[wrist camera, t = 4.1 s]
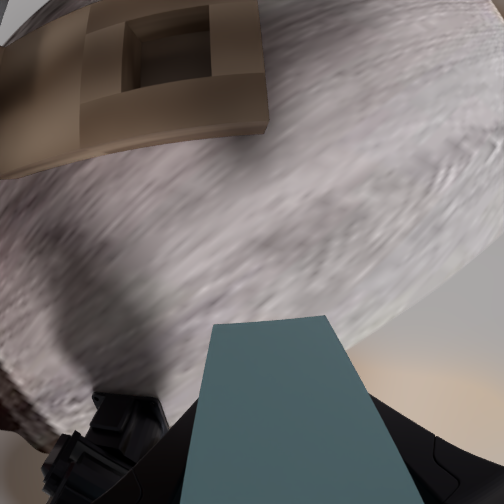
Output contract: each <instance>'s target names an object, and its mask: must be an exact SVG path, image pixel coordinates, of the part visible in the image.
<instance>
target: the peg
mask: <svg viewBox="0 0 504 504" xmlns="http://www.w3.org/2000/svg"><path fill="white" fill-rule="evenodd" d="M180 504H424V502H423V500H422V498H421V496H420V494H419V492H418V490H417V488H416V486H415V484H414V481H413V479H412V477H411V475H410V473H409V471H408V469H407V467H406V465H405V463H404V461H403V459H402V457H401V455H400V453H399V451H398V449H397V447H396V445H395V443H394V441H393V439H392V437H391V436H390V434H389V432H388V430H387V428H386V426H385V424H384V422H383V420H382V418H381V416H380V414H379V412H378V411H377V409H376V407H375V405H374V403H373V401H372V399H371V397H370V396H369V394H368V392H367V390H366V388H365V386H364V384H363V383H362V381H361V379H360V377H359V375H358V373H357V371H356V370H355V368H354V366H353V365H352V363H351V361H350V359H349V357H348V355H347V353H346V352H345V350H344V348H343V346H342V344H341V343H340V341H339V339H338V337H337V335H336V334H335V332H334V330H333V328H332V327H331V325H330V323H329V321H328V319H327V318H326V316H325V315H323V316H315V317H305V318H295V319H285V320H274V321H261V322H248V323H233V324H215V325H213V329H212V334H211V339H210V344H209V349H208V354H207V359H206V364H205V369H204V374H203V379H202V384H201V389H200V394H199V399H198V404H197V410H196V415H195V420H194V426H193V431H192V436H191V442H190V448H189V453H188V459H187V464H186V470H185V476H184V482H183V488H182V494H181V500H180Z"/></svg>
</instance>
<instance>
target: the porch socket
mask: <svg viewBox="0 0 504 504" xmlns="http://www.w3.org/2000/svg"><path fill="white" fill-rule="evenodd" d="M8 1H9V0H0V25H1V22H2V18H3V15H4V12H5V9H6V7H7V4H8ZM268 123H269V110H268V99H267V88H266V77H265V67H264V57H263V47H262V37H261V28H260V19H259V10H258V2H257V0H101V1H98V2H96V3H93V4H90V5H88V6H85V7H83V8H80V9H78V10H75V11H73V12H71V13H68V14H66V15H64V16H62V17H60V18H57V19H55V20H53V21H51V22H49V23H47V24H45V25H43V26H41V27H39V28H38V29H36V30H34V31H32V32H30V33H28V34H27V35H25V36H23V37H21V38H20V39H18V40H16V41H15V42H13V43H11V44H10V45H8V46H7V47H2V46H0V180H4V179H18V178H21V177H24V176H27V175H30V174H34V173H37V172H40V171H44V170H47V169H51V168H54V167H58V166H61V165H65V164H69V163H73V162H77V161H81V160H85V159H89V158H94V157H98V156H102V155H107V154H112V153H117V152H122V151H127V150H132V149H138V148H143V147H149V146H155V145H162V144H168V143H175V142H182V141H190V140H198V139H207V138H217V137H228V136H240V135H254V134H264V133H265V130H266V128H267V125H268Z"/></svg>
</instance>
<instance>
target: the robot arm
mask: <svg viewBox="0 0 504 504" xmlns="http://www.w3.org/2000/svg"><path fill="white" fill-rule="evenodd" d="M368 394H369V393H368ZM369 396H370V397H371V399H372V401H373V403H374V405H375V407H376V409H377V411H378V412H379V414H380V416H381V418H382V420H383V422H384V424H385V426H386V428H387V430H388V432H389V434H390V436H391V437H392V439H393V441H394V443H395V445H396V447H397V449H398V451H399V453H400V455H401V457H402V459H403V461H404V463H405V465H406V467H407V469H408V471H409V473H410V475H411V477H412V479H413V481H414V484H415V486H416V488H417V490H418V492H419V494H420V496H421V498H422V500H423V502H424V504H504V466H501V465H499V464H496V463H493V462H491V461H488V460H486V459H483V458H480V457H478V456H475V455H473V454H471V453H469V452H466V451H464V450H462V449H460V448H458V447H456V446H454V445H452V444H450V443H448V442H447V441H445V440H443V439H442V438H440V437H438V436H436V437H435V435H434V434H433V433H431V432H430V431H428V430H426V429H425V428H423V427H421V426H420V425H418V424H416V423H415V422H413V421H411V420H410V419H408V418H407V417H405V416H403V415H402V414H400V413H399V412H397V411H395V410H394V409H392V408H391V407H389V406H388V405H386V404H385V403H383V402H381V401H380V400H378V399H377V398H375V397H374V396H372V395H371V394H369ZM92 399H93V402H94V404H95V406H96V408H97V412H96V413H95V415H94V417H93V419H92V421H91V422H90V428H89V430H88V432H87V434H86V436H85V438H84V437H83V436H81V434H80V433H79V432H77V431H76V430H75V431H74V433H73V434H72V436H71V435H66V434H61V436H60V438H59V439H58V441H57V443H56V444H55V446H54V448H53V449H52V451H51V452H50V454H49V456H48V457H47V459H46V460H45V462H44V464H43V465H42V467H41V470H42V473H43V475H44V480H43V482H44V483H45V485H44V487H43V489H42V491H43V492H45V493H46V494H48V495H50V497H49V499H48V501H47V503H46V504H180V500H181V494H182V488H183V482H184V476H185V470H186V464H187V459H188V453H189V448H190V442H191V436H192V431H193V426H194V420H195V415H196V410H197V404H198V399H199V398H198V399H197V400H196V401H195V402H194V403H193V404H192V406H191V407H190V408H189V409H188V410H187V411H186V412H185V413H184V414H183V415H182V417H181V418H180V419H179V420H178V421H177V422H176V423H175V424H174V425H173V426H172V427H171V428H170V430H169V428H168V425H167V422H166V419H165V417H164V414H163V411H162V408H161V405H160V402H159V400H158V399H156V398H154V397H140V396H127V395H116V394H107V393H98V392H95V393H93V395H92ZM152 402H153V403H155V404H153V403H152Z"/></svg>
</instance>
